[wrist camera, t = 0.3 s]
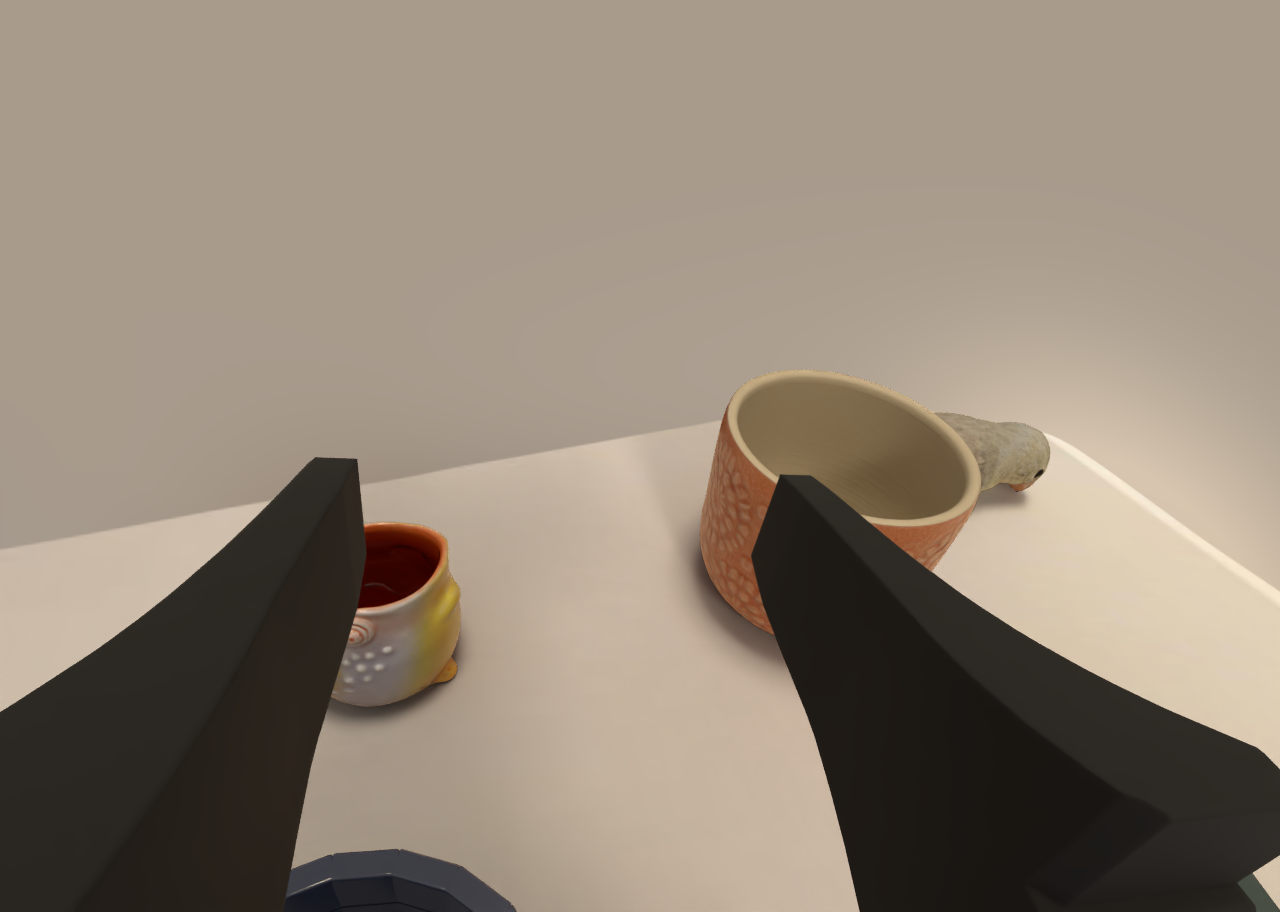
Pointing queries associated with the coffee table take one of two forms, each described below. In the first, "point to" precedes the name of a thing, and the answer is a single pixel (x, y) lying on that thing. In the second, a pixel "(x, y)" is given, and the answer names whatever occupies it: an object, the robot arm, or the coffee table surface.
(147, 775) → the robot arm
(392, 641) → the mug
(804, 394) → the planter
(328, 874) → the pot
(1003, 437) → the decorative bird
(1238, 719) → the coffee table surface
